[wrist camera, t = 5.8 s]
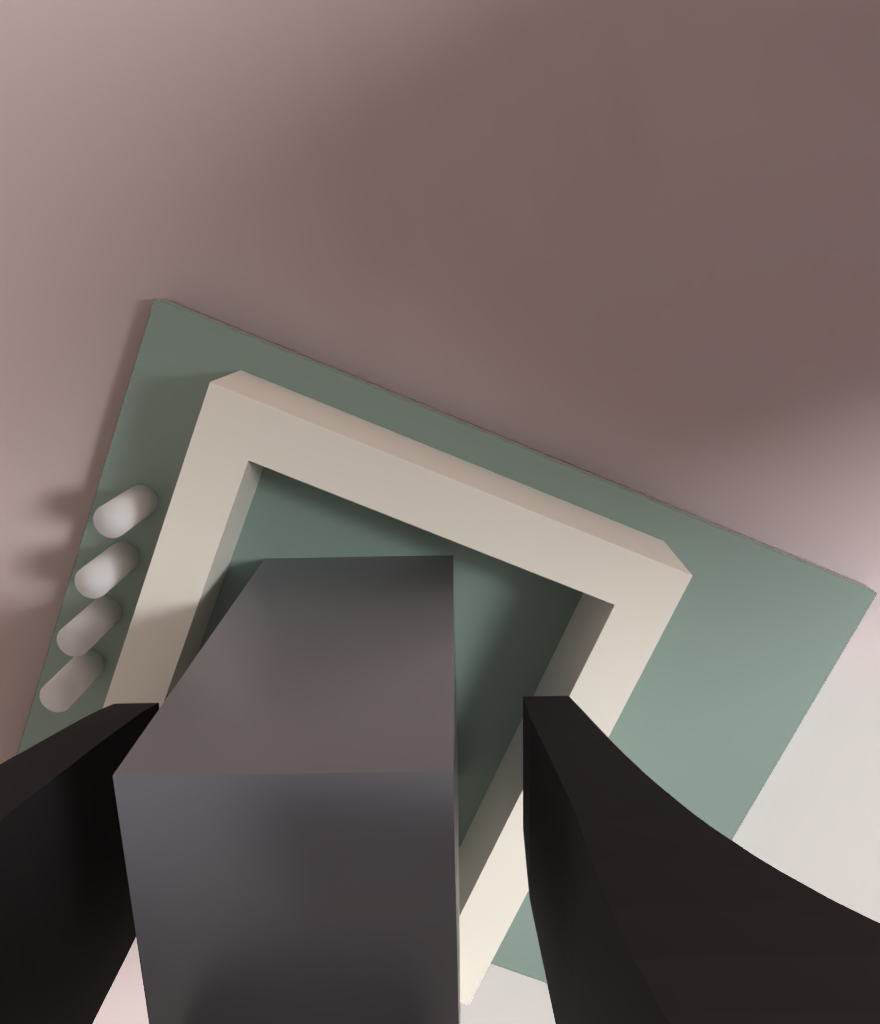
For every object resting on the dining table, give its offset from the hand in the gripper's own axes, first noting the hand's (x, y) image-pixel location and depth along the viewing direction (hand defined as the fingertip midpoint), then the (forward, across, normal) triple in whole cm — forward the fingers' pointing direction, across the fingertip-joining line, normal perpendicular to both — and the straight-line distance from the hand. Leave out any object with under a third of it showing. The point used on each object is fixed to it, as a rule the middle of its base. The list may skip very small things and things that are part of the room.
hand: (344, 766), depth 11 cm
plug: (+3, 0, 0) cm, 3 cm away
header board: (+3, -1, 0) cm, 3 cm away
